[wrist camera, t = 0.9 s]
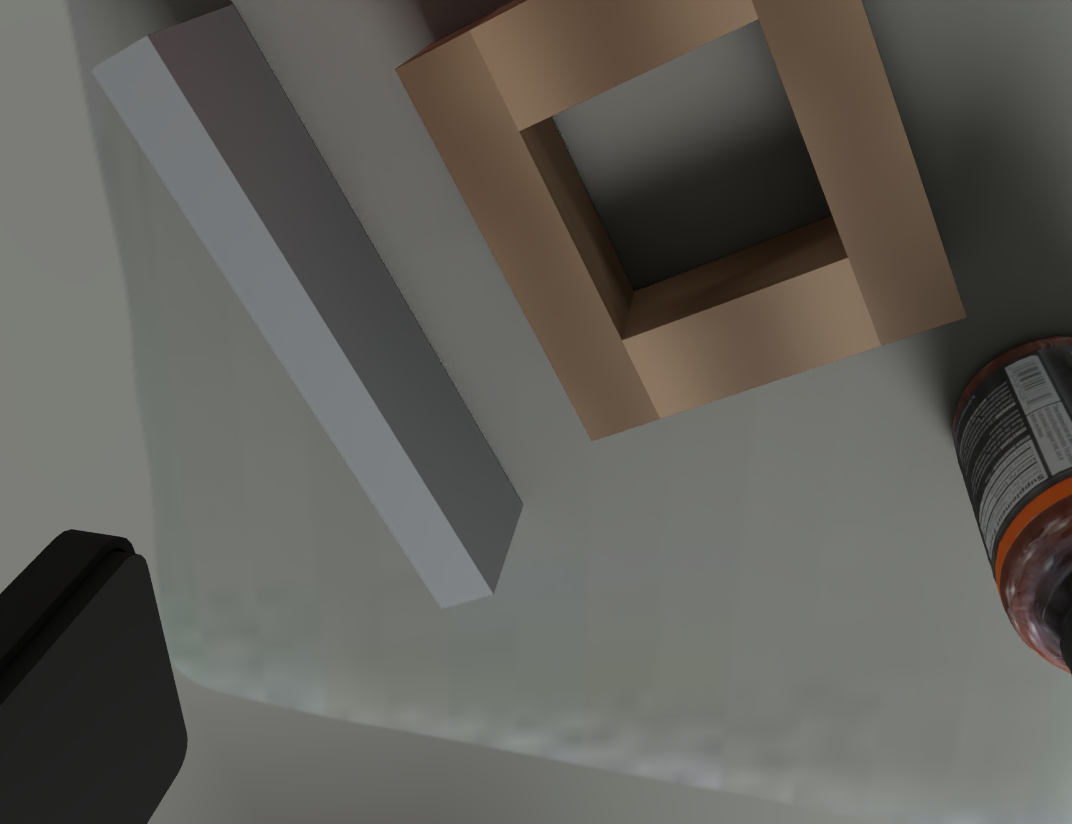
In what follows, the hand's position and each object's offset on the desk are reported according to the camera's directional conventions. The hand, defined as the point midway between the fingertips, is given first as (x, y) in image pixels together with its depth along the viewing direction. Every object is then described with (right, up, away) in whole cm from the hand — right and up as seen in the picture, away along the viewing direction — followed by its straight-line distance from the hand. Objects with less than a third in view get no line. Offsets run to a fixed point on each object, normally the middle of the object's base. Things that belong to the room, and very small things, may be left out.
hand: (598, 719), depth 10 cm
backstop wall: (-6, +7, +24) cm, 26 cm away
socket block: (+4, +10, +20) cm, 23 cm away
